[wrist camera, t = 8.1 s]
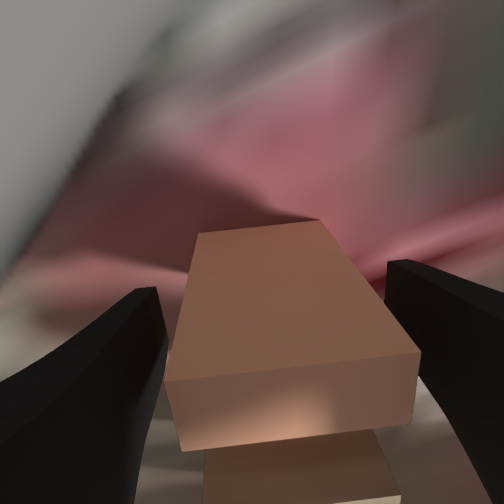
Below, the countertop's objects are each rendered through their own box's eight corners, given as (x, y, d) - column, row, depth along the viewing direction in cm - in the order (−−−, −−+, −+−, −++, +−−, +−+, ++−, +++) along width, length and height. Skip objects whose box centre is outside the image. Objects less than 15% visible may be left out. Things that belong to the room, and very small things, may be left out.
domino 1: (320, 263, 15) (410, 424, 7) (205, 276, 15) (182, 451, 7) (320, 219, 14) (421, 351, 7) (198, 233, 14) (163, 381, 6)
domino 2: (321, 346, 17) (394, 539, 9) (219, 358, 16) (211, 563, 9) (321, 312, 16) (401, 494, 8) (213, 324, 16) (201, 520, 8)
